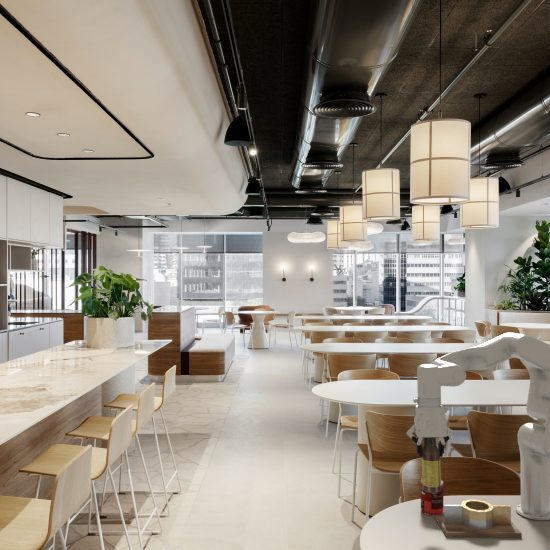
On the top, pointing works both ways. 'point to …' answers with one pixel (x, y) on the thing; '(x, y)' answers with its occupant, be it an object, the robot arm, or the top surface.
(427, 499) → the canned food
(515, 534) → the walnut board
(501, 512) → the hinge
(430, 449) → the sauce bottle
